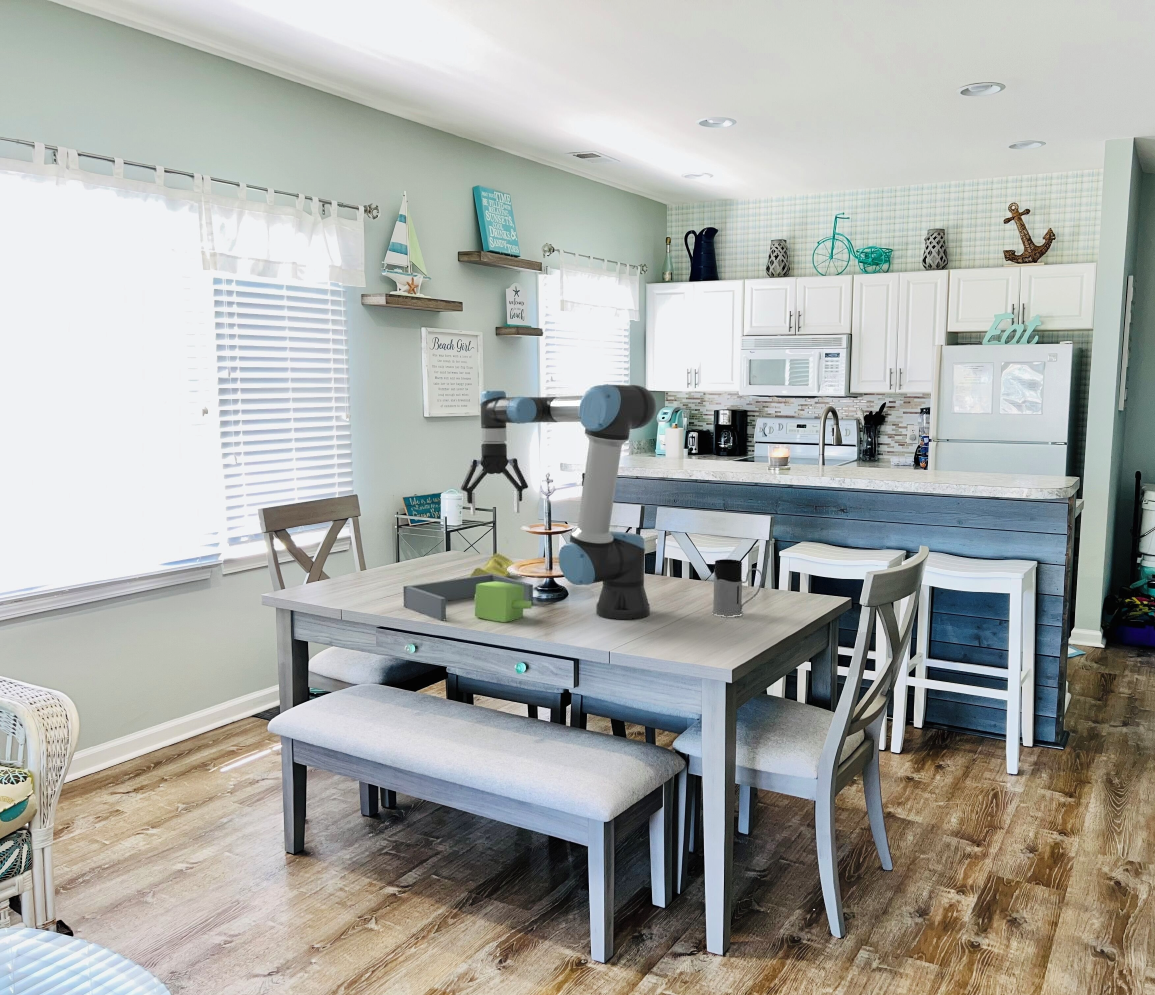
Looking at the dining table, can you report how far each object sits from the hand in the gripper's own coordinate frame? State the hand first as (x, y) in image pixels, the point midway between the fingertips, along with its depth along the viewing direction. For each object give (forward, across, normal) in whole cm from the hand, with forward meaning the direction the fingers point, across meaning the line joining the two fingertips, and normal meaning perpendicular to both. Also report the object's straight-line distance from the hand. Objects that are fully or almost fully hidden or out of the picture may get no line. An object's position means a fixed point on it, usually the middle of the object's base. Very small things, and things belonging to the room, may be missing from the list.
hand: (495, 513), depth 282 cm
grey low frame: (+26, +10, +8) cm, 29 cm away
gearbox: (+26, +5, +25) cm, 36 cm away
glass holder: (+27, -58, +44) cm, 77 cm away
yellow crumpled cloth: (+26, -6, -27) cm, 38 cm away
